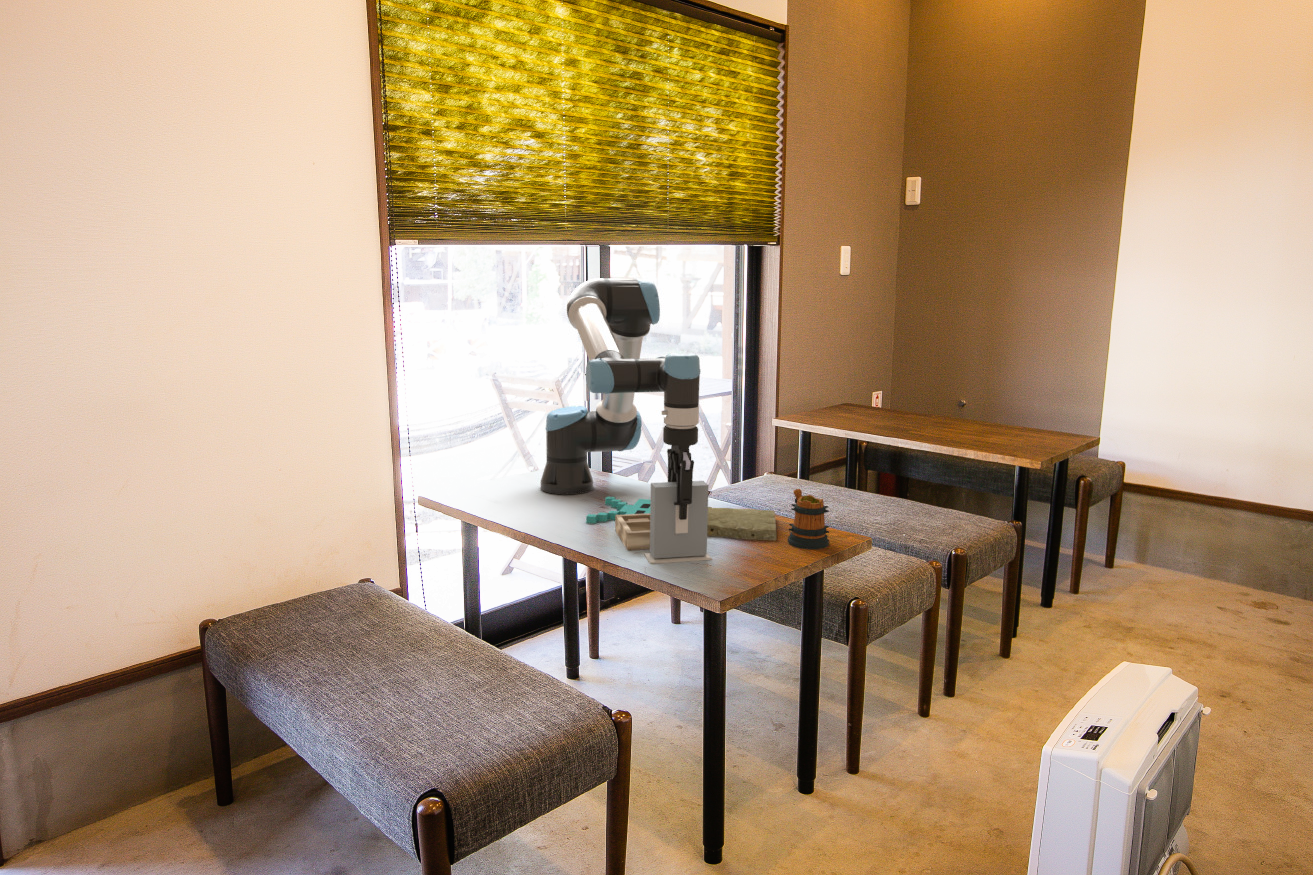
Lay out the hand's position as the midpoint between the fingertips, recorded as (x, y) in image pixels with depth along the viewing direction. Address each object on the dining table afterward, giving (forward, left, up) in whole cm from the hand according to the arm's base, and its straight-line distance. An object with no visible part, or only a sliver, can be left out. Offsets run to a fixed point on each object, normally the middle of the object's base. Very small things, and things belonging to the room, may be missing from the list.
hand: (678, 529), depth 194 cm
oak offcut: (-19, -5, -7) cm, 20 cm away
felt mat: (0, 0, -6) cm, 6 cm away
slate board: (0, 0, -6) cm, 6 cm away
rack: (-14, -1, -6) cm, 16 cm away
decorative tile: (-19, +20, -7) cm, 29 cm away
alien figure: (-35, -3, -7) cm, 35 cm away
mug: (-6, +33, -7) cm, 34 cm away
